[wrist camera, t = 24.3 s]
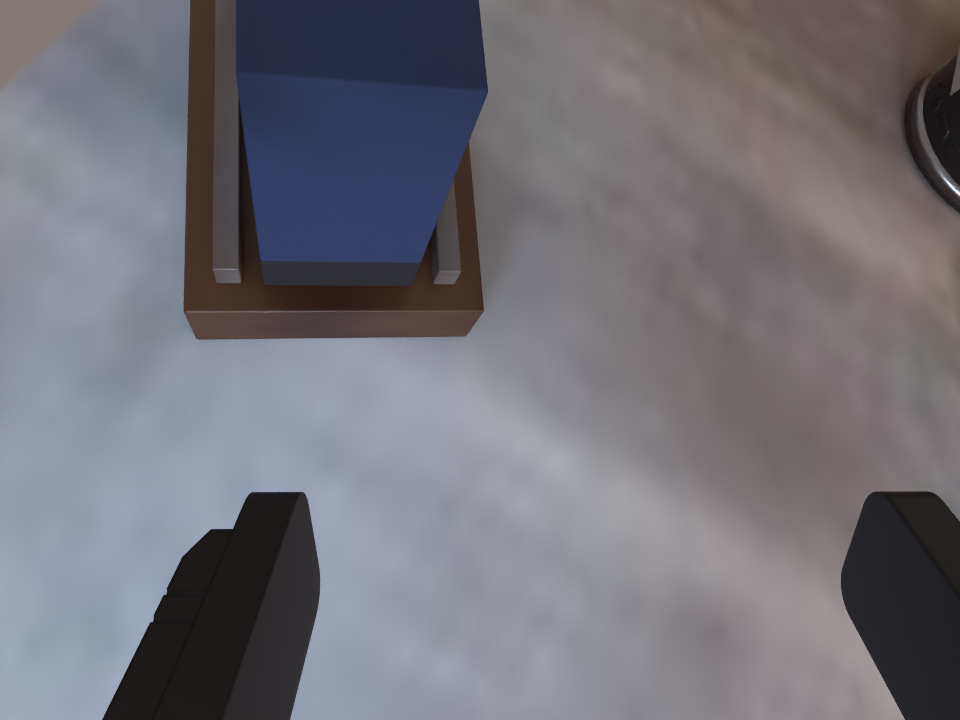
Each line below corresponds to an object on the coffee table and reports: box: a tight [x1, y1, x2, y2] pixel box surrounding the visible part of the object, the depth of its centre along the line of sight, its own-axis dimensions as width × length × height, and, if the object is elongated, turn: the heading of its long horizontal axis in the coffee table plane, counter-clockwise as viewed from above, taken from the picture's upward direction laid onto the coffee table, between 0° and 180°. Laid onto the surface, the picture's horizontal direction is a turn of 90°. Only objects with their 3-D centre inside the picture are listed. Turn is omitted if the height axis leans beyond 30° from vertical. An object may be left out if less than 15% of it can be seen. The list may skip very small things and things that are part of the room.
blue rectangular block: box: [236, 0, 488, 286], centre depth 21 cm, size 11×5×11 cm, turn 4°
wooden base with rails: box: [184, 0, 484, 339], centre depth 27 cm, size 10×13×4 cm
